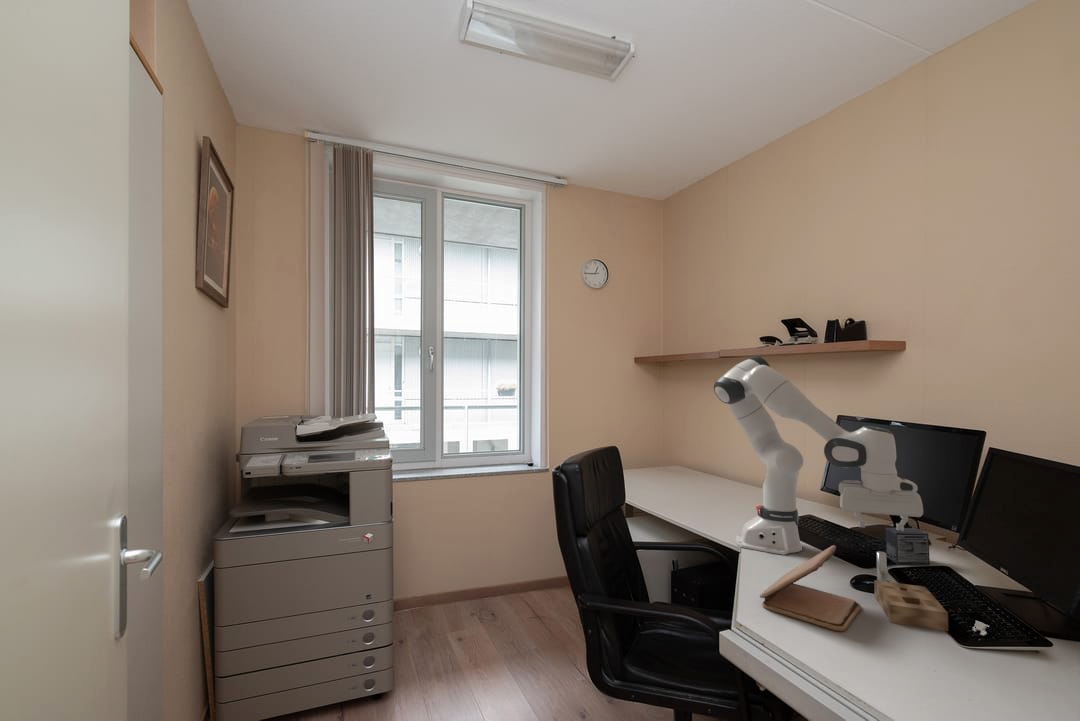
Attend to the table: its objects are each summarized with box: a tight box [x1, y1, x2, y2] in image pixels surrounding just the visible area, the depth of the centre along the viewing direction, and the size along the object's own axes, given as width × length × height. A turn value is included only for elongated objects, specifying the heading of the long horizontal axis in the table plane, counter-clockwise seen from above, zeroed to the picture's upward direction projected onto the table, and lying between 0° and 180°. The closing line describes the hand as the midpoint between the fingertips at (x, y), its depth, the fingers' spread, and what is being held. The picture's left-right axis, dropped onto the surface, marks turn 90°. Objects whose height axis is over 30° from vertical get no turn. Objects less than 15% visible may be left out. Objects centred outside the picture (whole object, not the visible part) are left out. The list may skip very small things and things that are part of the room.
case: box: [759, 545, 862, 632], centre depth 135 cm, size 20×21×16 cm
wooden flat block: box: [873, 579, 949, 632], centre depth 131 cm, size 12×16×4 cm
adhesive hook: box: [972, 620, 990, 636], centre depth 120 cm, size 3×3×3 cm
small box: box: [885, 527, 931, 566], centre depth 166 cm, size 11×6×10 cm, turn 84°
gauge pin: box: [876, 550, 888, 582], centre depth 144 cm, size 2×2×11 cm
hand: (880, 528), depth 144 cm, fingers open, 8 cm apart
